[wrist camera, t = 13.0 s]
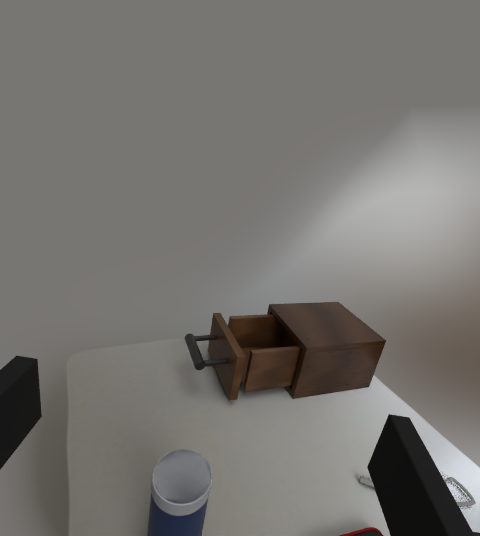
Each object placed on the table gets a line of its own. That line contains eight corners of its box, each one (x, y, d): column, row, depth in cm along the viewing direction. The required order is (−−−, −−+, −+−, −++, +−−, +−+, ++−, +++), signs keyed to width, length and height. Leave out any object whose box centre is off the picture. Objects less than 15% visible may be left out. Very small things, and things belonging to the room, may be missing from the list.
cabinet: (292, 398, 51) (306, 347, 48) (259, 348, 62) (269, 304, 58) (368, 386, 56) (386, 340, 53) (326, 342, 67) (338, 301, 64)
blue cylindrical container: (133, 566, 29) (139, 486, 25) (165, 515, 33) (174, 440, 29) (180, 597, 27) (193, 517, 24) (207, 540, 31) (222, 464, 28)
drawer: (195, 405, 45) (201, 360, 43) (179, 353, 55) (183, 314, 53) (310, 388, 52) (322, 348, 50) (278, 344, 62) (286, 309, 60)
